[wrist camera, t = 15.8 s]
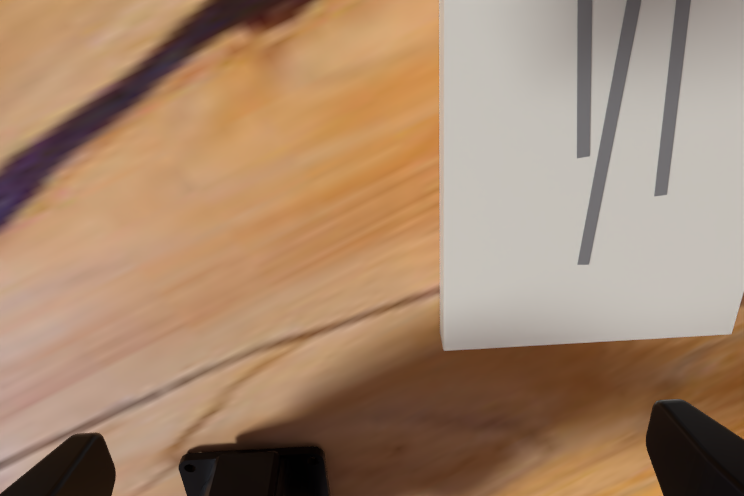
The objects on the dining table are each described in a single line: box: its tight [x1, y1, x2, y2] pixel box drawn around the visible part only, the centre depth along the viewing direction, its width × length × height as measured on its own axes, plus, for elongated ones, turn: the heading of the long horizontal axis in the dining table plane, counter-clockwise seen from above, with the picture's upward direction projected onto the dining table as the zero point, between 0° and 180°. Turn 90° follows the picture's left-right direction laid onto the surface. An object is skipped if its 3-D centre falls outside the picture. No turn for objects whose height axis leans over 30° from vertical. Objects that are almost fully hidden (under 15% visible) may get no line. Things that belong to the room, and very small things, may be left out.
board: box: [439, 0, 744, 351], centre depth 18 cm, size 21×11×1 cm, turn 3°
